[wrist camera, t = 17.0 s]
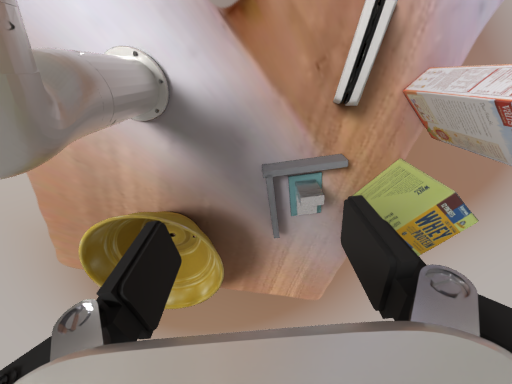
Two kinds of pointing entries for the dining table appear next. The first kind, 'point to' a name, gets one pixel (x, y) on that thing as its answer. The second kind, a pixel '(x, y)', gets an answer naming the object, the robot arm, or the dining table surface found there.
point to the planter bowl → (190, 249)
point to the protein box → (417, 206)
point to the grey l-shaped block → (308, 196)
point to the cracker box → (467, 107)
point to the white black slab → (372, 34)
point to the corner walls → (296, 168)
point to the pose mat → (310, 176)
